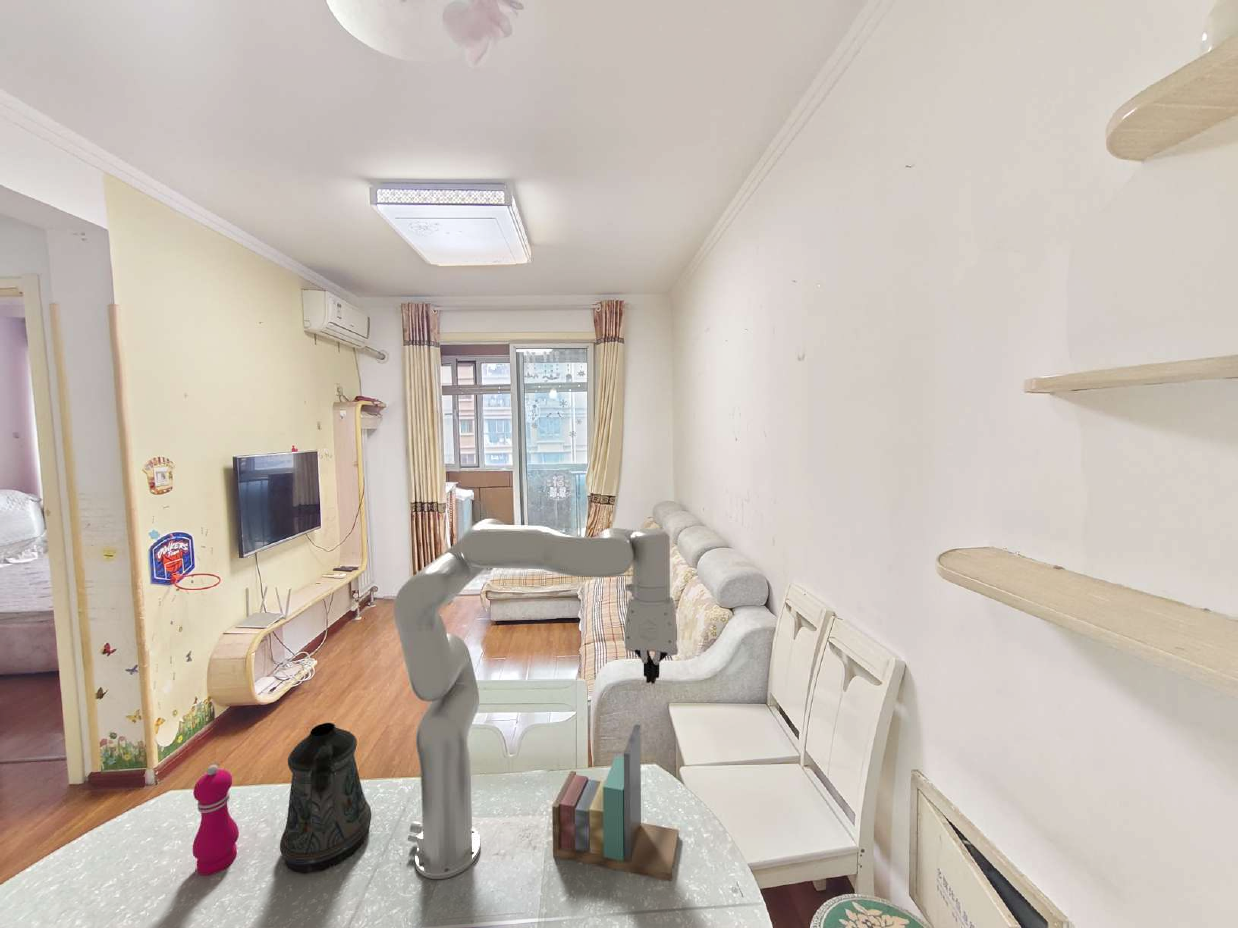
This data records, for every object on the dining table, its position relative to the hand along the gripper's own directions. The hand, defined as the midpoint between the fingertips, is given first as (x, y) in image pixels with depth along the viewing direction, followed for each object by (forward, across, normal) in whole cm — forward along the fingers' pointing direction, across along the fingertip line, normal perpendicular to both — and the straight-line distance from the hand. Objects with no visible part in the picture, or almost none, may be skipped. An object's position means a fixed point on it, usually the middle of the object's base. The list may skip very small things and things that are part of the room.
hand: (651, 680), depth 102 cm
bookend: (+33, -4, -2) cm, 34 cm away
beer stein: (+35, -65, -16) cm, 76 cm away
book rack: (+35, -7, -2) cm, 36 cm away
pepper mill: (+35, -84, -25) cm, 94 cm away
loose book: (+34, -6, -2) cm, 34 cm away
